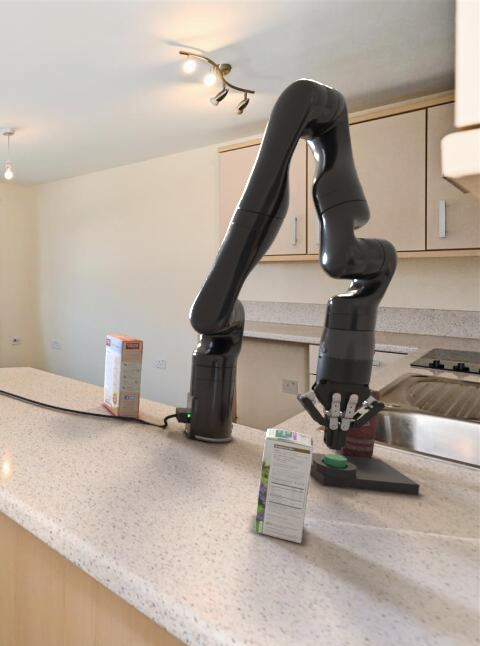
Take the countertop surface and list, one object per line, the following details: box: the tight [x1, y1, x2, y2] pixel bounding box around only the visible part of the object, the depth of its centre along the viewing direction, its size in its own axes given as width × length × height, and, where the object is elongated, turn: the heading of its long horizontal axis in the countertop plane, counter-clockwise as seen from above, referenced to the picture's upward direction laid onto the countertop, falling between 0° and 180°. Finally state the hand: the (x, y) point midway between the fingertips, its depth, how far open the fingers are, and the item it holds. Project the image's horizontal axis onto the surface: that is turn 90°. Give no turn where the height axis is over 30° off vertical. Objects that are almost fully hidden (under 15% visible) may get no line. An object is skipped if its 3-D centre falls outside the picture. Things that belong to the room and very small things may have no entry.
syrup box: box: [254, 428, 314, 544], centre depth 68 cm, size 6×6×14 cm
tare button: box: [324, 453, 347, 468], centre depth 85 cm, size 3×3×2 cm
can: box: [335, 388, 381, 458], centre depth 97 cm, size 6×6×14 cm
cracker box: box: [102, 333, 144, 419], centre depth 128 cm, size 14×6×21 cm, turn 179°
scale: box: [310, 452, 420, 496], centre depth 87 cm, size 15×13×4 cm
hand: (333, 448), depth 84 cm, fingers closed
